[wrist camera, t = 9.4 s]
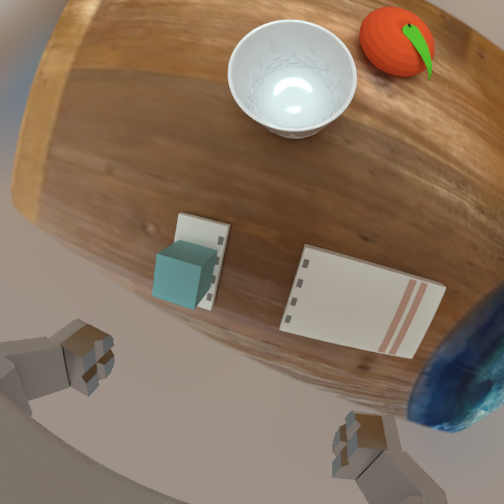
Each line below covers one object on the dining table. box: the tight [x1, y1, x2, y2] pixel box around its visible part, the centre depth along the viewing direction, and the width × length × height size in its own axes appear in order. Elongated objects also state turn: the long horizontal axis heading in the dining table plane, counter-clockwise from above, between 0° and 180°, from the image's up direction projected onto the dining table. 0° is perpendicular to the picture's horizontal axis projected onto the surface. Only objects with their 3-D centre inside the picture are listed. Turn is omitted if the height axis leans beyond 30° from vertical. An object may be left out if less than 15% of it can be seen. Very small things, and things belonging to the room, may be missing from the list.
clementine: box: [360, 7, 434, 80], centre depth 18 cm, size 8×7×7 cm
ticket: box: [279, 244, 446, 359], centre depth 28 cm, size 16×9×1 cm, turn 77°
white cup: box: [228, 20, 357, 139], centre depth 20 cm, size 8×8×10 cm
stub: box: [152, 212, 231, 311], centre depth 27 cm, size 5×9×6 cm, turn 167°
